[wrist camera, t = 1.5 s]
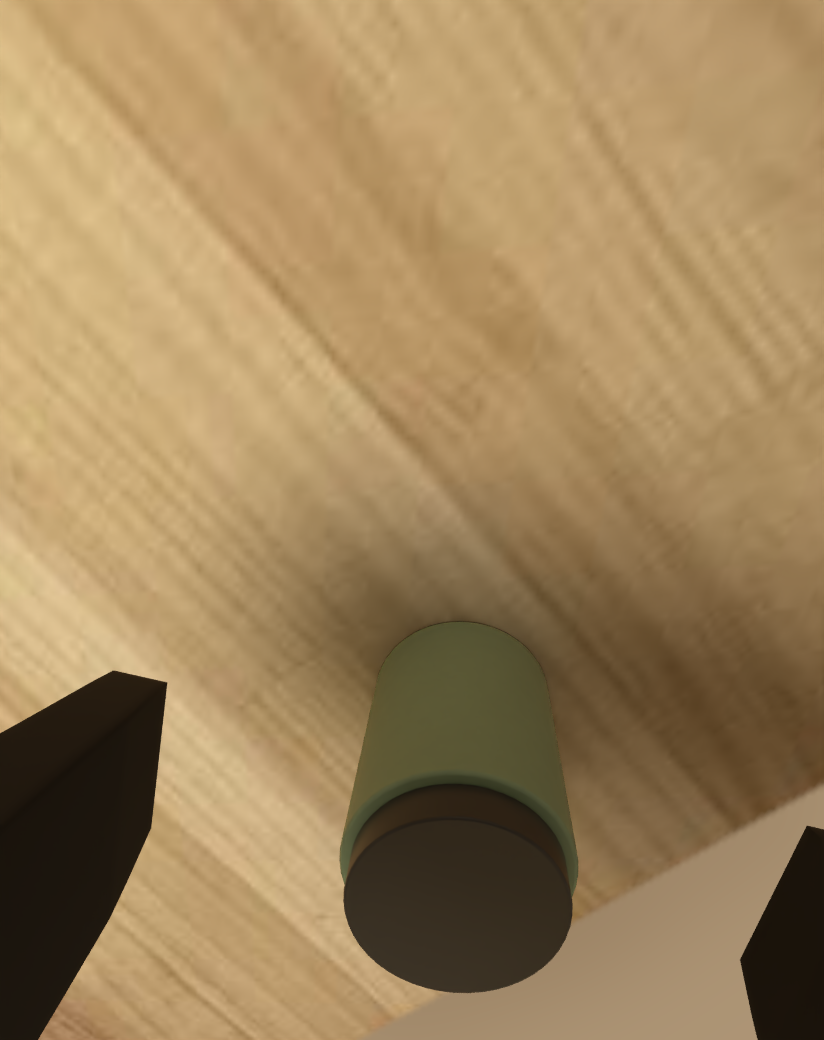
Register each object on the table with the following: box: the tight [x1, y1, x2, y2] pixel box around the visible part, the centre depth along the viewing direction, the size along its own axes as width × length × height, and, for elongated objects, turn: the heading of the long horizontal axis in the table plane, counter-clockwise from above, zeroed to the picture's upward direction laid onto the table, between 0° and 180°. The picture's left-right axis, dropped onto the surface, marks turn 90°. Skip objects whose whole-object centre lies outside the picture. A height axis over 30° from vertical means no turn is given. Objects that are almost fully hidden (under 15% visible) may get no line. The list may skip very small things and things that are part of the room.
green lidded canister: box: [340, 622, 578, 993], centre depth 15 cm, size 4×4×6 cm
